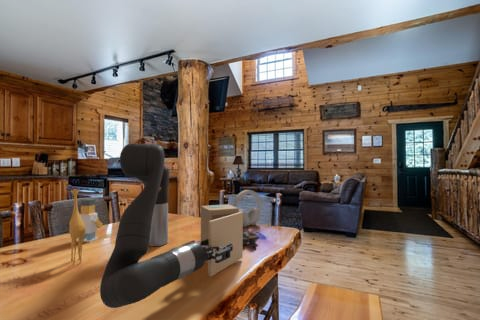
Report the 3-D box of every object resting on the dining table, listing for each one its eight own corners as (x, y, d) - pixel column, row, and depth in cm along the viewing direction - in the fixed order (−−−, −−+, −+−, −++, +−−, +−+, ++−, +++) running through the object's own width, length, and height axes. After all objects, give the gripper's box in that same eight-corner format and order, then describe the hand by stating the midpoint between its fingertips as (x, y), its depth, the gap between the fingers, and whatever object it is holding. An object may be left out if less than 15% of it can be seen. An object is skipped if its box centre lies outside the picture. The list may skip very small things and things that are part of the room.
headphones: (238, 230, 133) (238, 191, 134) (229, 227, 140) (229, 190, 140) (265, 225, 145) (265, 189, 145) (255, 222, 151) (255, 188, 152)
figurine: (234, 220, 132) (268, 233, 106) (234, 231, 132) (268, 247, 106) (212, 223, 126) (241, 237, 100) (212, 235, 126) (241, 252, 100)
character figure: (76, 239, 115) (77, 199, 115) (102, 236, 120) (103, 198, 120) (74, 244, 108) (75, 201, 108) (102, 241, 113) (103, 199, 113)
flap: (240, 257, 91) (240, 212, 91) (242, 257, 91) (242, 212, 91) (208, 275, 76) (208, 221, 76) (210, 276, 75) (211, 221, 76)
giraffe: (65, 255, 95) (67, 187, 96) (79, 252, 98) (81, 186, 98) (70, 269, 82) (72, 191, 83) (86, 265, 85) (88, 190, 86)
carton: (208, 264, 87) (209, 210, 87) (200, 255, 96) (201, 205, 96) (238, 259, 91) (238, 207, 92) (227, 251, 100) (228, 204, 101)
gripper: (205, 250, 62) (239, 235, 76) (163, 241, 70) (202, 229, 84) (204, 281, 62) (239, 260, 76) (163, 269, 70) (202, 252, 83)
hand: (219, 244), depth 80 cm, fingers open, 8 cm apart
